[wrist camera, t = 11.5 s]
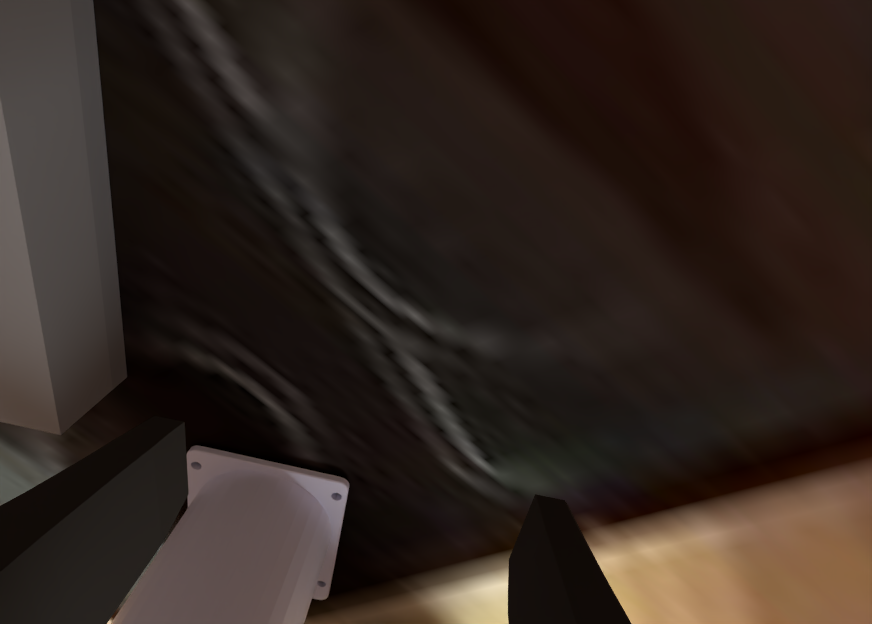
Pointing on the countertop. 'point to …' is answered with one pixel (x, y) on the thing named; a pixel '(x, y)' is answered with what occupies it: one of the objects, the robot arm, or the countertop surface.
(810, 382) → the countertop surface
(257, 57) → the countertop surface
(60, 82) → the foam packaging insert
